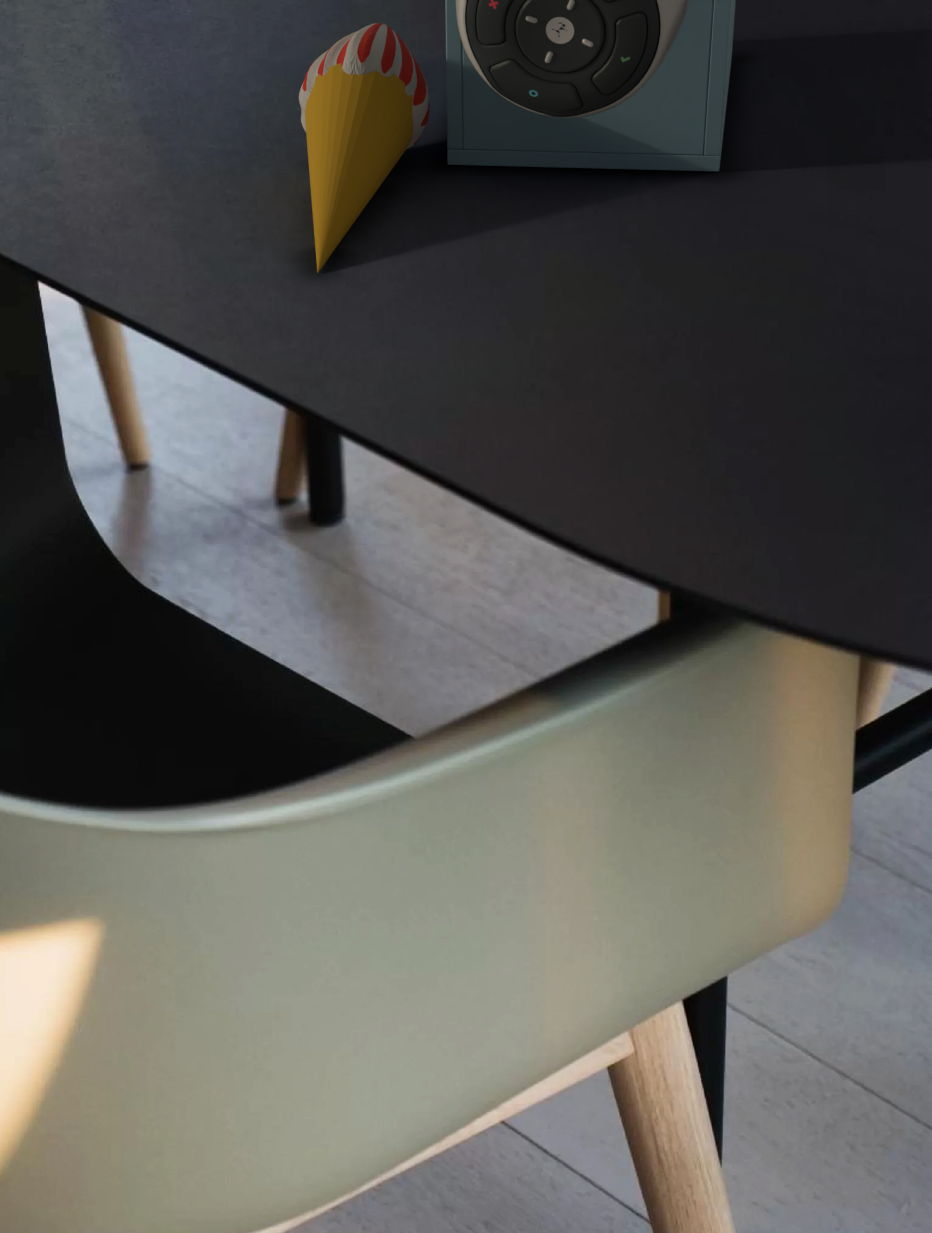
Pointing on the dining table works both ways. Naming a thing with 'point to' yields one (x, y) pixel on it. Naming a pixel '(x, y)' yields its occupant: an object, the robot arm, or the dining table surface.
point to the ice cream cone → (358, 125)
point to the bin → (614, 139)
